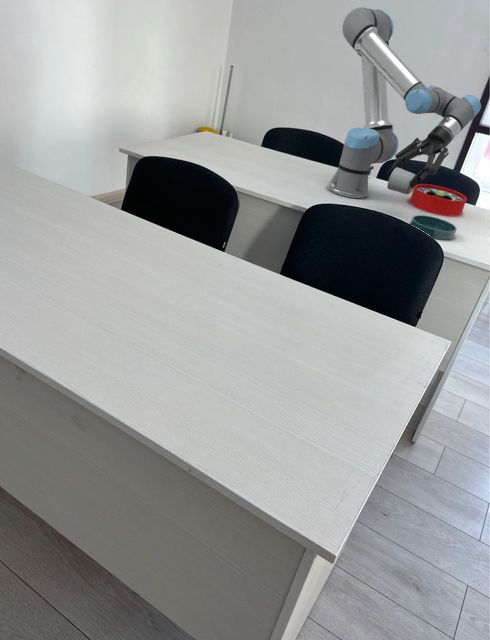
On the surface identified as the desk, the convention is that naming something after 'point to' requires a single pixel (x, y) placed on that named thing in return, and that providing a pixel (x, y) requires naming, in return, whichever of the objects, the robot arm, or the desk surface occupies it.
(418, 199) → the toy clock
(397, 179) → the grey cylinder
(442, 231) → the bowl
